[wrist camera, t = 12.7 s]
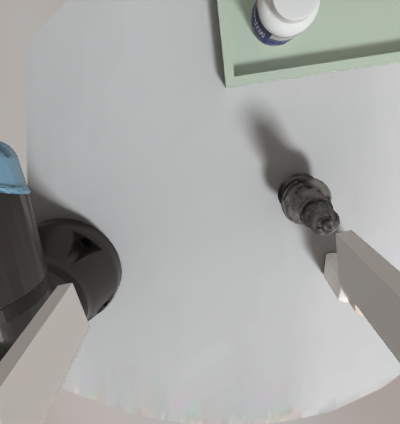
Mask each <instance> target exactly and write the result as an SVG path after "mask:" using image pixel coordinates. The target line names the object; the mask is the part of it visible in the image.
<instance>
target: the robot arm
mask: <svg viewBox="0 0 400 424" xmlns="http://www.w3.org/2000/svg"><path fill="white" fill-rule="evenodd" d="M30 193H31V190H30V188H29V187H28V186H27V184H26V181H25V178H24V175H23V172H22V169H21V166H20V163H19V159H18V157H17V155H16V153H15V151H14V150H13V149H12V148H11V147H10V146H8V145H7V144H5V143H3V142H1V141H0V424H43V423H44V421H45V419H46V417H47V415H48V413H49V411H50V409H51V407H52V405H53V403H54V400H55V398H56V396H57V394H58V392H59V390H60V388H61V386H62V384H63V382H64V380H65V378H66V375H67V373H68V371H69V369H70V367H71V365H72V363H73V361H74V359H75V357H76V355H77V353H78V351H79V348H80V346H81V344H82V342H83V340H84V338H85V336H86V334H87V332H88V330H89V328H90V326H89V323H88V321H89V320H91V319H92V318H93V317H94V316H96V315H97V314H98V313H100V312H101V311H102V310H103V309H105V308H106V307H107V306H108V304H109V303H110V302H111V301H112V299H113V297H114V295H115V293H116V291H117V289H118V287H119V285H120V281H121V275H122V269H121V263H120V259H119V256H118V254H117V252H116V250H115V248H114V247H113V245H112V244H111V243H110V241H109V240H108V239H107V238H106V237H105V236H104V235H103V234H101V233H100V232H99V231H97V230H96V229H94V228H93V227H91V226H89V225H87V224H85V223H82V222H79V221H75V220H70V219H53V220H48V221H45V222H42V223H40V224H38V225H36V220H35V216H34V212H33V207H32V203H31V199H30V195H29V194H30ZM335 235H336V249H337V262H338V276H339V283H340V285H341V286H342V287H343V289H344V290H345V291H346V292H347V294H348V295H349V296H350V298H351V299H352V300H353V302H354V303H355V304H356V306H357V307H358V308H359V310H360V311H361V312H362V314H363V315H364V316H365V318H366V319H367V320H368V322H369V323H370V324H371V326H372V327H373V328H374V329H375V331H376V332H377V333H378V335H379V336H380V337H381V339H382V340H383V341H384V343H385V344H386V345H387V347H388V348H389V349H390V351H391V352H392V353H393V355H394V356H395V357H396V359H397V360H398V361H399V363H400V272H399V271H398V270H397V269H396V268H395V267H394V266H392V265H391V264H390V263H389V262H388V261H387V260H386V259H384V258H383V257H382V256H381V255H380V254H379V253H377V252H376V251H375V250H374V249H373V248H372V247H371V246H369V245H368V244H367V243H366V242H365V241H364V240H362V239H361V238H360V237H359V236H358V235H357V234H356V233H354V232H353V231H352V230H350V231H345V232H339V233H335Z"/></svg>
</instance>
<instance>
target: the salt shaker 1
mask: <svg viewBox="0 0 400 424" xmlns="http://www.w3.org/2000/svg"><path fill="white" fill-rule="evenodd" d="M278 198H279V201H280V203H281V206H282V210H283V212H284V214H285V216H286V217H287V218H288V219H289V220H290V221H292V222H294V223H297V224H302V225H305V226H307V227H310V228H311V229H312V230H313V231H314V232H315V233H316V234H319V235H322V236H324V235H330V234H332V233H333V232H335V231H336V230H337V228H338V227H339V224H340V219H339V216H338V214H337V213H336V212H335V211H334V210H333V206H332V204H331V198H332V197H331V193H330V190H329V188H328V187H327V185H325V184H324V183H323V182H322V181H320V180H318V179H315V178H313V177H311V176H309V175H307V174H295V175H292V176H290V177H288V178H287V179H286V180H285V181H284V182H283V183H282V184H281V186H280V188H279V192H278Z"/></svg>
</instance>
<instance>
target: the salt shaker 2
mask: <svg viewBox="0 0 400 424" xmlns="http://www.w3.org/2000/svg"><path fill="white" fill-rule="evenodd" d="M324 277H325V279H326V281H327V282H328V284H329V285H330V287H331V289H332V290H333V292H334V293H335V295H336V297H337V298H338V300H340V301H342V302H349V303H350V304H351V306H352V307H353V309H354V310H355V312H356V313H358V314H359V315H360V316H363V317H365V316H364V315H363V314H362V312H361V311H360V310H359V308H358V307H357V306H356V304H355V303H354V302H353V300H352V299H351V298H350V296H349V295H348V294H347V292H346V291H345V290H344V289H343V287H342V286H341V285H340V283H339V276H338V262H337V253H328V254H327V255H326V258H325V267H324Z"/></svg>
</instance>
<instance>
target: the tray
mask: <svg viewBox="0 0 400 424" xmlns="http://www.w3.org/2000/svg"><path fill="white" fill-rule="evenodd" d="M255 1H256V0H217V10H218V20H219V29H220V39H221V48H222V58H223V68H224V77H225V87H226V88H230V87H236V86H243V85H250V84H256V83H263V82H270V81H277V80H283V79H290V78H297V77H304V76H310V75H317V74H324V73H330V72H337V71H344V70H351V69H357V68H364V67H371V66H378V65H384V64H391V63H398V62H400V0H320V5H319V9H318V12H317V15H316V17H315V19H314V20H313V22H312V23H311V24H310V25H309V26H308V27H307V28H306V29H305V30H304V31H303V32H301V33H300V34H298V35H297V36H296V37H294V38H293V39H291V40H290V41H289V42H287V43H285V44H283V45H281V46H276V47H271V46H266V45H264V44H262V43H261V42H259V41H258V40H257V39H256V37H255V36H254V34H253V32H252V29H251V23H250V18H251V12H252V9H253V6H254V4H255Z"/></svg>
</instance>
